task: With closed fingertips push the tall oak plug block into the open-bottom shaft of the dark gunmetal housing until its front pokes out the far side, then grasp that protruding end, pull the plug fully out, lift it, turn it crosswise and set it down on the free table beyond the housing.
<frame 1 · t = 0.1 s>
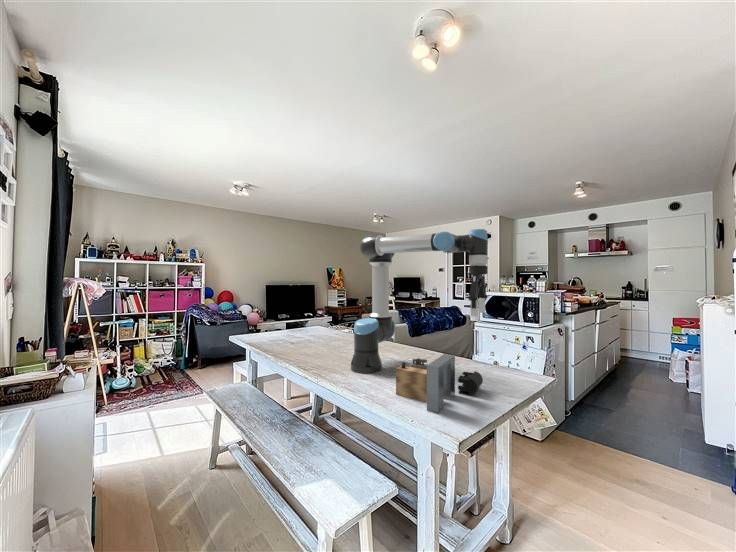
hand: (478, 314, 134), 28 cm above the table, fingers open, 13 cm apart
housing: (441, 402, 110), on the table
lighter: (419, 382, 131), on the table
plug: (414, 396, 116), on the table
end cap: (470, 392, 120), on the table
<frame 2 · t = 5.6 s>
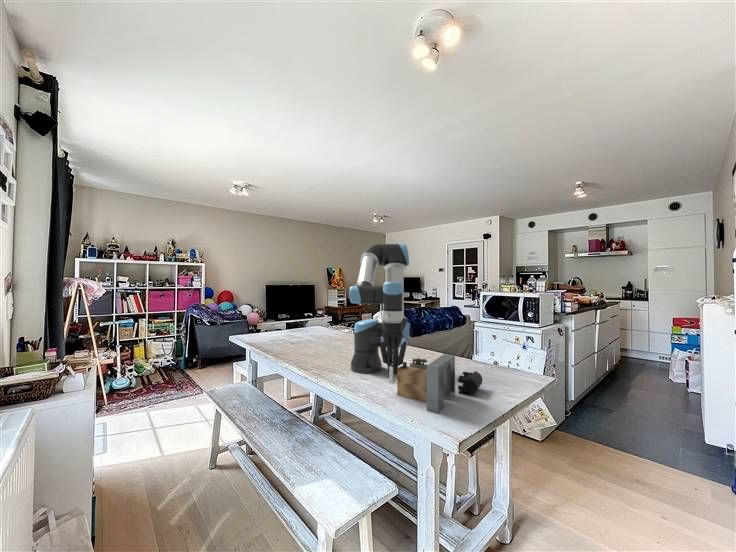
hand: (392, 382, 120), 4 cm above the table, fingers closed
plug: (415, 396, 115), on the table, touching gripper
everything else where it was.
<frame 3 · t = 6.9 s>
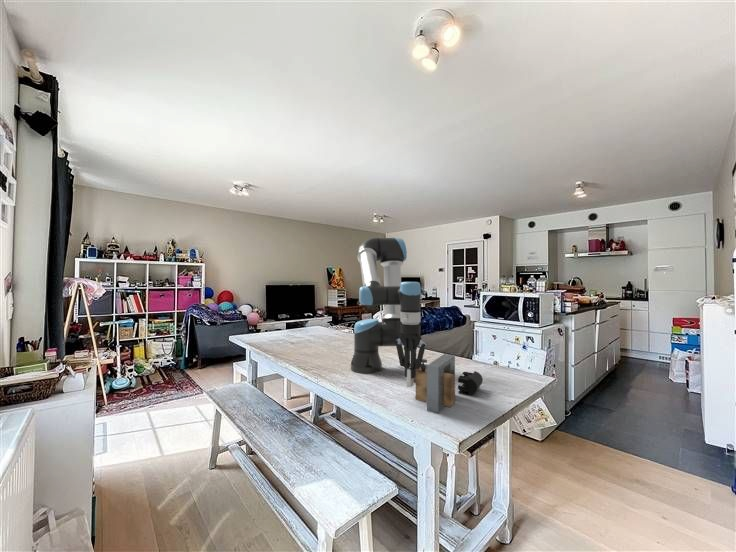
hand: (410, 385, 116), 4 cm above the table, fingers closed
plug: (435, 400, 111), on the table, touching gripper
everything else where it was.
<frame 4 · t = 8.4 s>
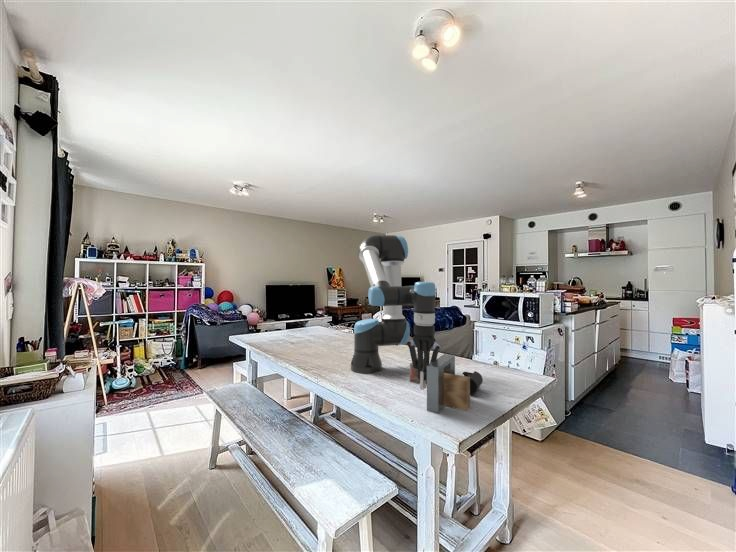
hand: (422, 388, 113), 4 cm above the table, fingers closed
plug: (449, 404, 109), on the table
everything else where it was.
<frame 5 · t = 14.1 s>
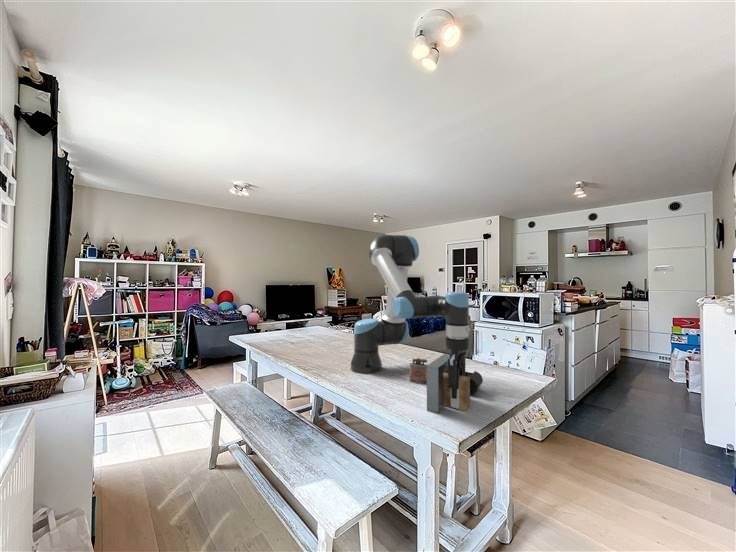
hand: (457, 404, 107), 1 cm above the table, fingers closed on plug, 4 cm apart
plug: (449, 404, 108), on the table, touching gripper
everything else where it was.
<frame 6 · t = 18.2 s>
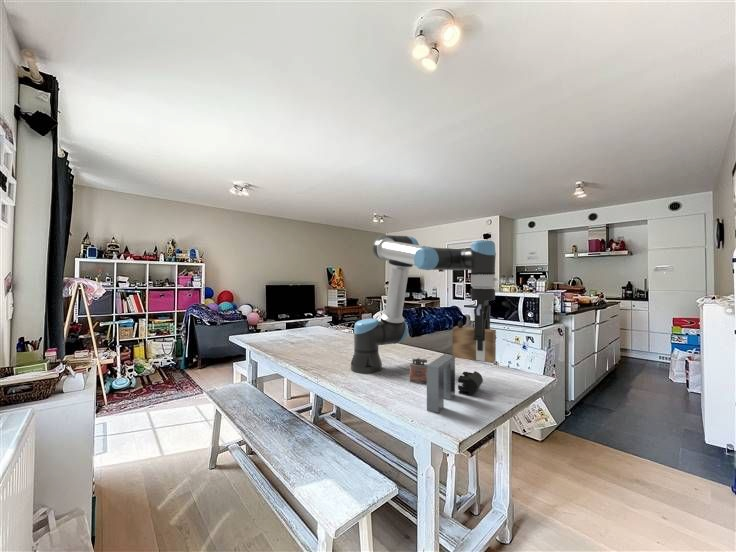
hand: (482, 358, 102), 18 cm above the table, fingers closed on plug, 4 cm apart
plug: (473, 358, 104), point 17 cm above the table, touching gripper
everything else where it was.
when the fingers open (2 cm above the table, at t = 22.3 s): plug drops 2 cm, on the table.
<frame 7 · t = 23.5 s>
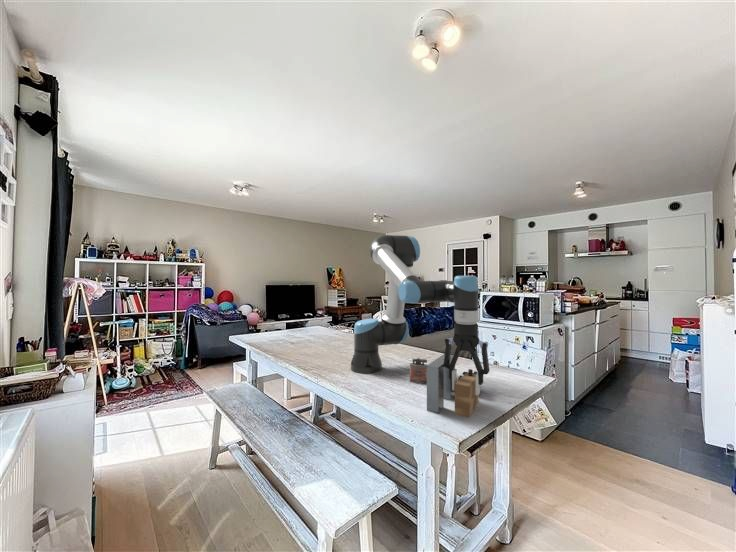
hand: (465, 391, 103), 7 cm above the table, fingers open, 7 cm apart
plug: (467, 408, 105), on the table
everything else where it was.
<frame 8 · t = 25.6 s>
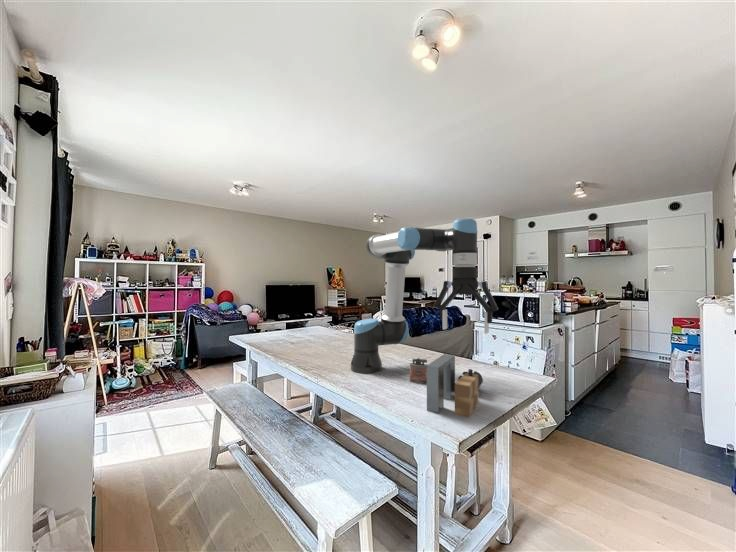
hand: (465, 330, 102), 27 cm above the table, fingers open, 13 cm apart
nothing on the table moved.
at the end: plug inside the target area (3.1 cm from its centre), on the table; plug touching table; the gripper is holding nothing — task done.
